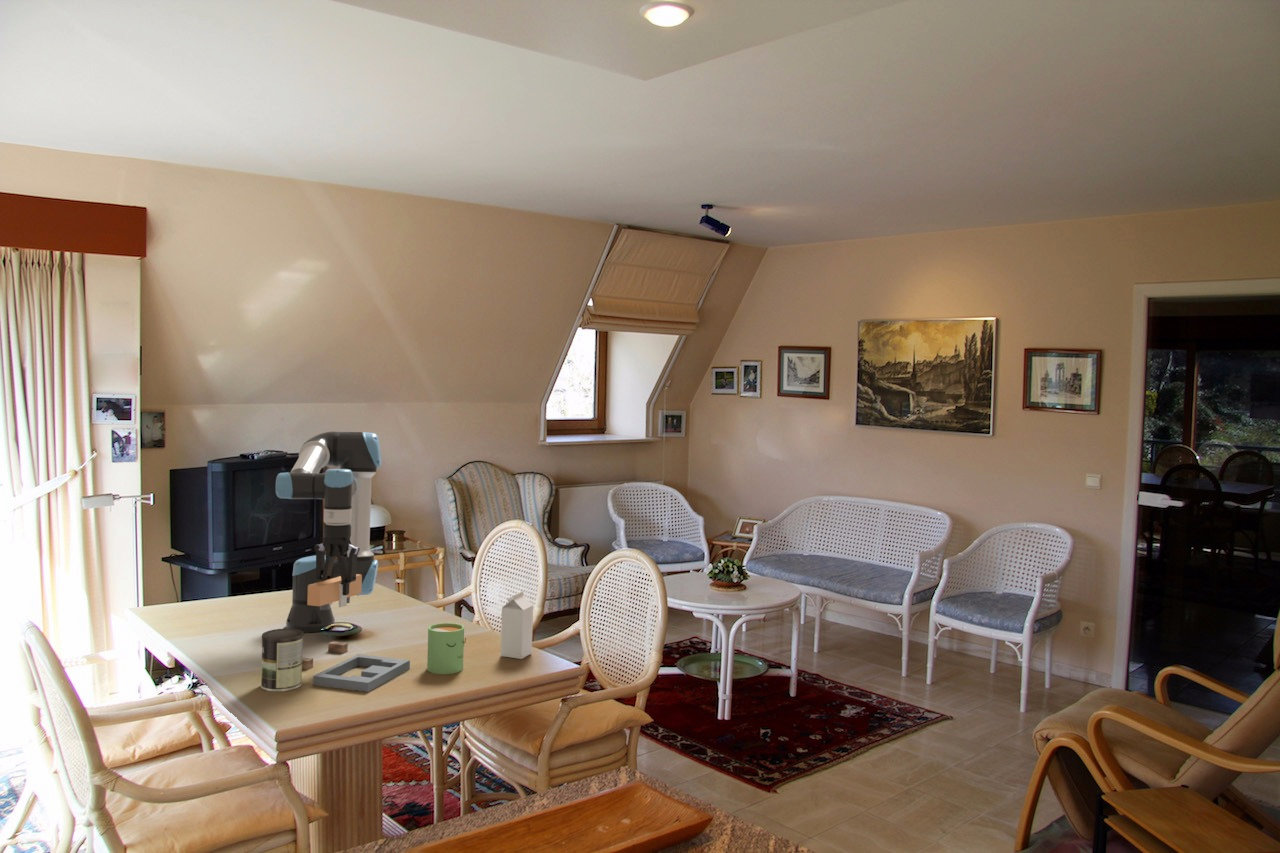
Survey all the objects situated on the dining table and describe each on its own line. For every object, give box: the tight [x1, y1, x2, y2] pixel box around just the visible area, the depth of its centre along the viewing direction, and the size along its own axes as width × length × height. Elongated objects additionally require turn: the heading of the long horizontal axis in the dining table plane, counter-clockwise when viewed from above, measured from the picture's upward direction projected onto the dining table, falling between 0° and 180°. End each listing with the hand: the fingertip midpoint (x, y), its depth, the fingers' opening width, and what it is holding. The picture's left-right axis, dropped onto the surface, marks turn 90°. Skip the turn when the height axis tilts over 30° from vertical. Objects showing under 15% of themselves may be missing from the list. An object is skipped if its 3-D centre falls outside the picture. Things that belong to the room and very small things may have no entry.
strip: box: [307, 574, 362, 610], centre depth 264 cm, size 4×20×8 cm, turn 164°
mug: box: [426, 622, 467, 675], centre depth 268 cm, size 13×10×12 cm
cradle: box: [302, 641, 349, 671], centre depth 272 cm, size 5×20×2 cm, turn 165°
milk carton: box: [500, 590, 534, 660], centre depth 283 cm, size 7×7×19 cm
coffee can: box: [260, 628, 304, 693], centre depth 247 cm, size 10×10×14 cm
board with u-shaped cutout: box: [312, 653, 411, 693], centre depth 257 cm, size 16×22×2 cm
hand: (335, 605), depth 264 cm, fingers closed on strip, 4 cm apart
